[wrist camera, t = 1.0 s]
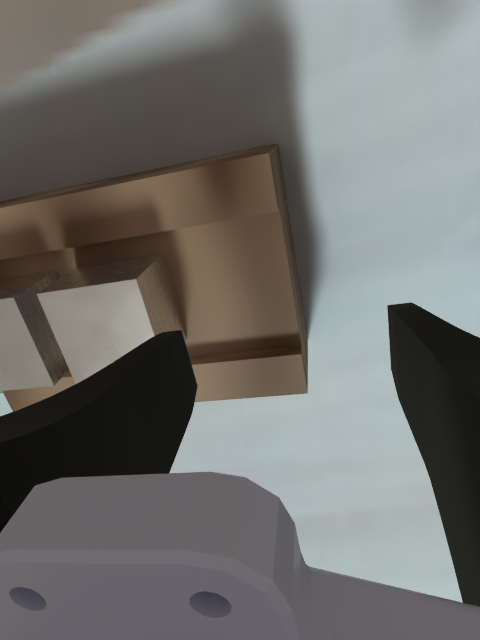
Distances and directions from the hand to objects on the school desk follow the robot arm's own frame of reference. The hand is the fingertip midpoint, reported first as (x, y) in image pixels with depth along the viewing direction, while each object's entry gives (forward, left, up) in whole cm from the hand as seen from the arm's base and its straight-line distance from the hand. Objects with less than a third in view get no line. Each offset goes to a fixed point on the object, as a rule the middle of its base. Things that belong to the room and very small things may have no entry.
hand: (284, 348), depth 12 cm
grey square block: (+7, 0, -5) cm, 9 cm away
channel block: (+8, 0, -9) cm, 12 cm away
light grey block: (+12, 0, -5) cm, 13 cm away
